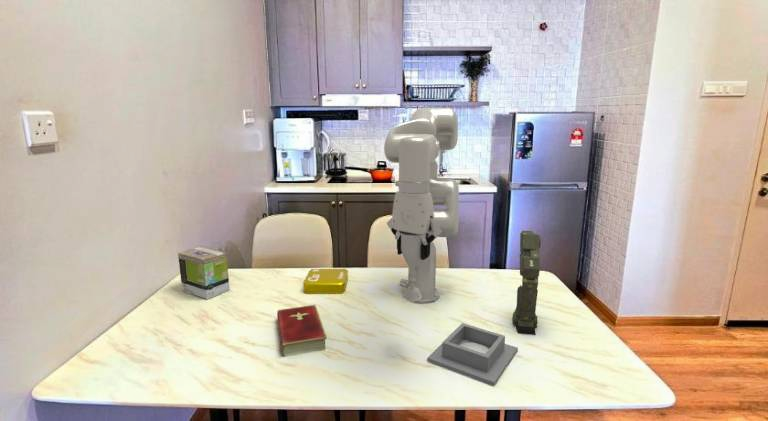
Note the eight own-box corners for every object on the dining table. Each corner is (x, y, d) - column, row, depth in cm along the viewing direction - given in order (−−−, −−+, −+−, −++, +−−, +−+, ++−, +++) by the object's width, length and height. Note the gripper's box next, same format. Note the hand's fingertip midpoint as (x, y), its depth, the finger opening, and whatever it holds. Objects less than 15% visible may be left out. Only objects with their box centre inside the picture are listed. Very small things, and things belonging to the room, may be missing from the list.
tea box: (231, 290, 153) (227, 252, 149) (206, 300, 144) (202, 260, 141) (205, 281, 160) (201, 245, 157) (181, 290, 152) (176, 252, 149)
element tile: (344, 295, 149) (344, 282, 148) (302, 295, 149) (302, 282, 148) (348, 278, 164) (348, 267, 163) (310, 278, 164) (309, 267, 163)
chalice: (429, 293, 112) (430, 229, 108) (422, 304, 106) (424, 236, 101) (402, 289, 114) (403, 226, 110) (395, 300, 108) (395, 233, 104)
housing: (427, 361, 109) (427, 344, 107) (456, 331, 123) (457, 316, 122) (494, 386, 99) (495, 367, 97) (517, 351, 113) (518, 334, 112)
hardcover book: (282, 358, 111) (281, 344, 110) (277, 321, 130) (276, 309, 130) (327, 350, 114) (326, 336, 114) (315, 316, 134) (315, 303, 133)
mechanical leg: (541, 339, 117) (546, 232, 117) (515, 336, 119) (519, 231, 119) (534, 326, 131) (538, 231, 131) (510, 324, 132) (514, 229, 132)
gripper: (376, 186, 105) (377, 253, 109) (438, 193, 95) (436, 267, 100) (393, 181, 111) (393, 246, 115) (452, 188, 101) (450, 258, 106)
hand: (413, 255), depth 107 cm, fingers closed on chalice, 6 cm apart
